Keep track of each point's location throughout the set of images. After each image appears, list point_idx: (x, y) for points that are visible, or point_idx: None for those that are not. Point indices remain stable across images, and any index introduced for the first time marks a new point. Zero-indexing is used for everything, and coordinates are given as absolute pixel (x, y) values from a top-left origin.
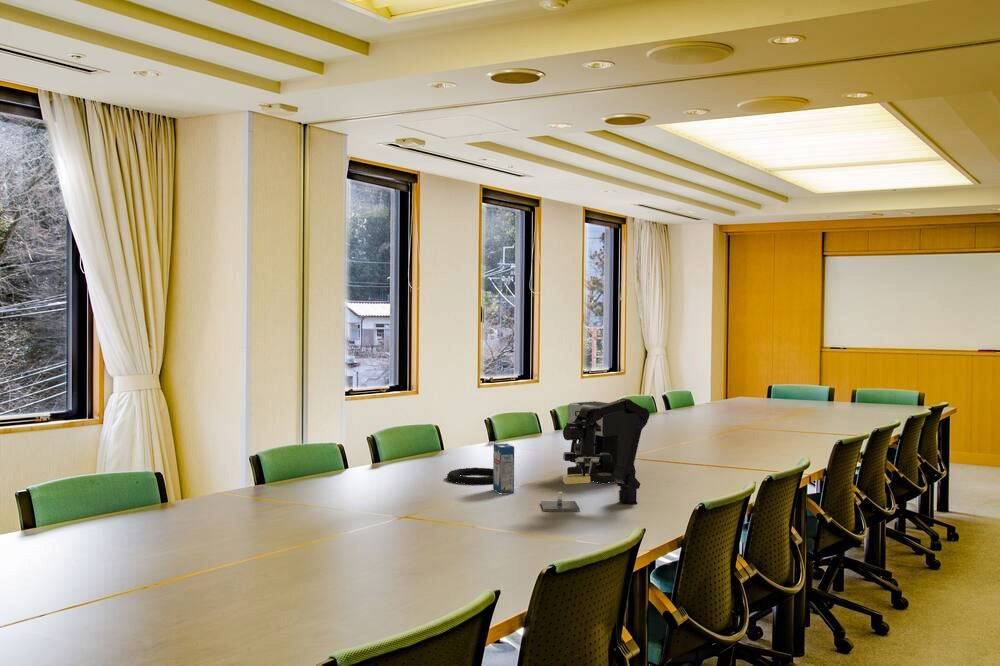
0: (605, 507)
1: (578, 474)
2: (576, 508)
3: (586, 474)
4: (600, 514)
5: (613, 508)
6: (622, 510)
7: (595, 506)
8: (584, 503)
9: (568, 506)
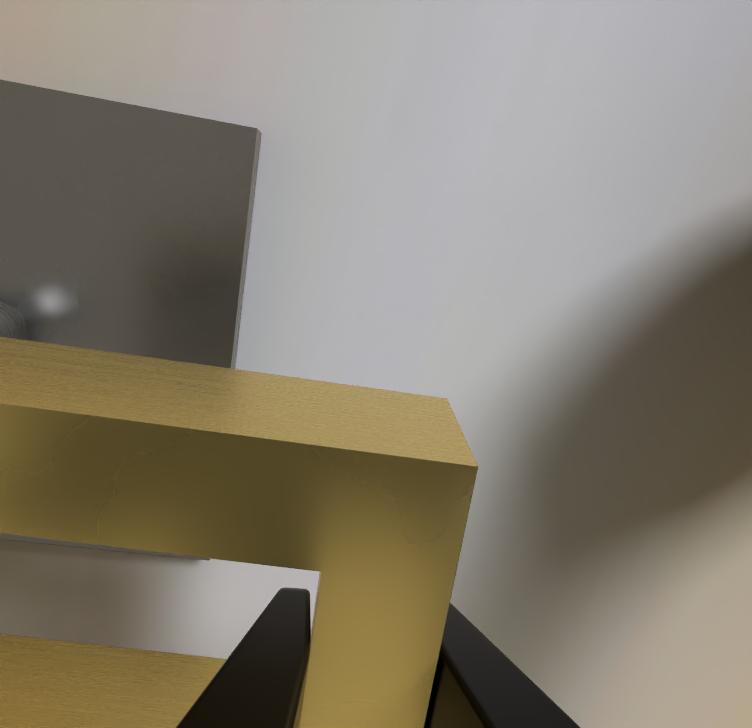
0: (558, 401)
1: (120, 490)
2: None
3: (385, 609)
4: None
5: (621, 457)
6: (666, 550)
7: (467, 336)
8: (390, 143)
9: None
